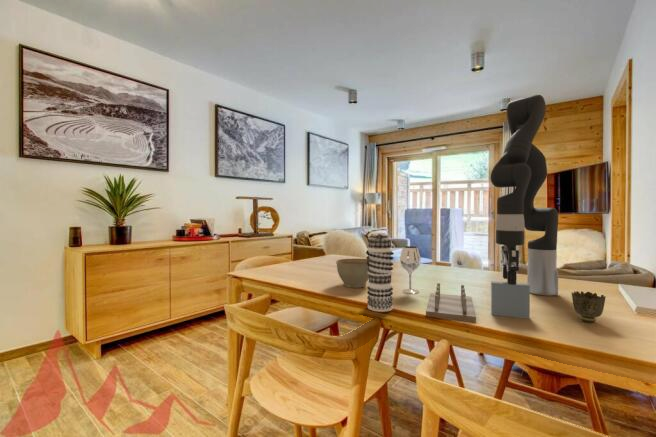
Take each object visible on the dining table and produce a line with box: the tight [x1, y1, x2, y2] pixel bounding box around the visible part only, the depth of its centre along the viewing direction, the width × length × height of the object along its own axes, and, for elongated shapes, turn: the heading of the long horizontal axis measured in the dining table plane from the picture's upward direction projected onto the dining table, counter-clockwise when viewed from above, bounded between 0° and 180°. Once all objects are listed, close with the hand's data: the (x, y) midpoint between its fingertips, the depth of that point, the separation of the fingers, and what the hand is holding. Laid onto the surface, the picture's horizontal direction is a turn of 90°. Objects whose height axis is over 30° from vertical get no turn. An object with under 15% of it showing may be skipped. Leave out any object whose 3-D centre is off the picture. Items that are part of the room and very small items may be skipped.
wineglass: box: [399, 245, 422, 295], centre depth 121 cm, size 8×8×18 cm
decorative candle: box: [365, 232, 395, 313], centre depth 101 cm, size 9×9×25 cm
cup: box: [571, 290, 607, 324], centre depth 87 cm, size 8×7×8 cm
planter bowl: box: [335, 258, 369, 289], centre depth 132 cm, size 16×16×11 cm
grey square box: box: [490, 280, 531, 319], centre depth 93 cm, size 2×10×10 cm, turn 68°
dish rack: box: [425, 282, 477, 323], centre depth 100 cm, size 22×14×6 cm, turn 158°
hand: (509, 281), depth 93 cm, fingers open, 8 cm apart
